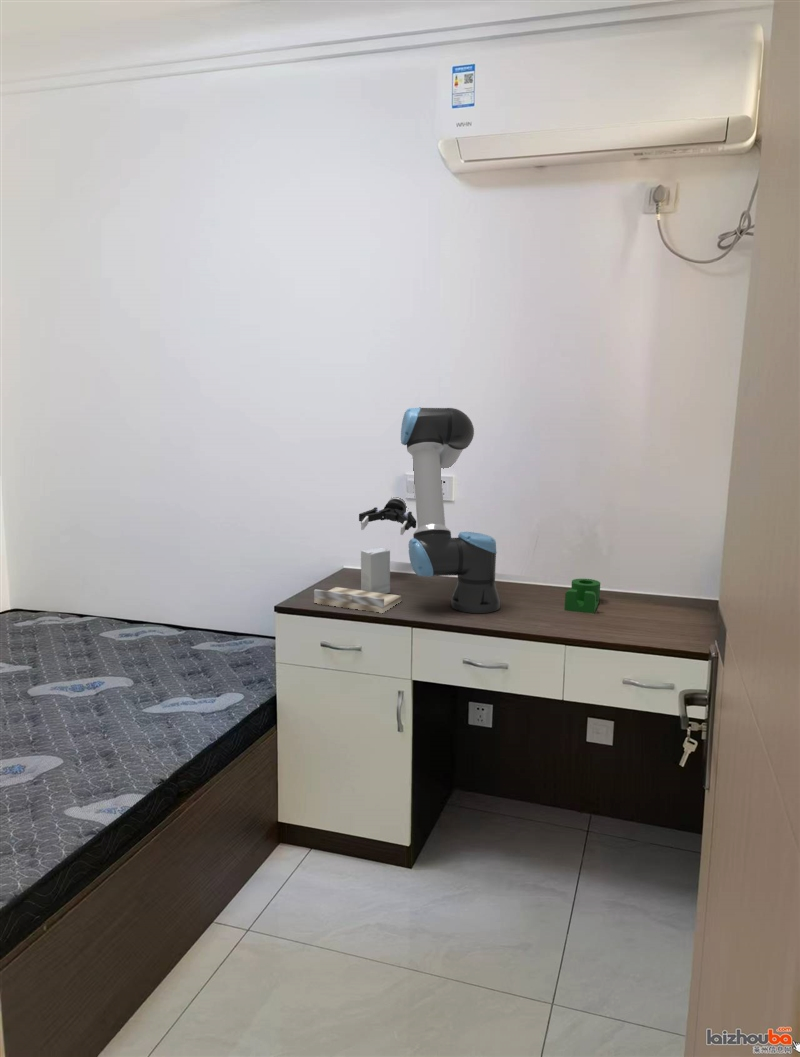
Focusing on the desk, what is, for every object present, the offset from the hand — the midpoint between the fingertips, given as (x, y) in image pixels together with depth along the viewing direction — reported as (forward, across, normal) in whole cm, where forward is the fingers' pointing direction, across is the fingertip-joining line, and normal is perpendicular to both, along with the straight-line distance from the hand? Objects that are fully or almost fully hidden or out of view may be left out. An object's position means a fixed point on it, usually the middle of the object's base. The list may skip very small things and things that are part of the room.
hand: (381, 528), depth 255 cm
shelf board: (+21, +2, -18) cm, 28 cm away
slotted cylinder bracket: (+4, -68, -16) cm, 70 cm away
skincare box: (+9, -1, -20) cm, 22 cm away
